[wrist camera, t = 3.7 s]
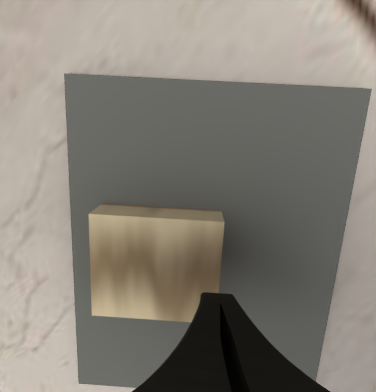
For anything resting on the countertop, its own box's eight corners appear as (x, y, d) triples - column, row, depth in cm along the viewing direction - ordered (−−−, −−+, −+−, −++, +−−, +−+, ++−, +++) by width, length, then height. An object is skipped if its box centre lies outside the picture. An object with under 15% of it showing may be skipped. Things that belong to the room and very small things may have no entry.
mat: (308, 392, 20) (311, 400, 19) (82, 376, 20) (78, 383, 20) (365, 90, 15) (371, 88, 15) (69, 75, 16) (64, 73, 15)
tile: (215, 323, 16) (91, 315, 16) (213, 302, 18) (103, 295, 18) (224, 222, 15) (88, 213, 15) (221, 211, 16) (101, 203, 17)
